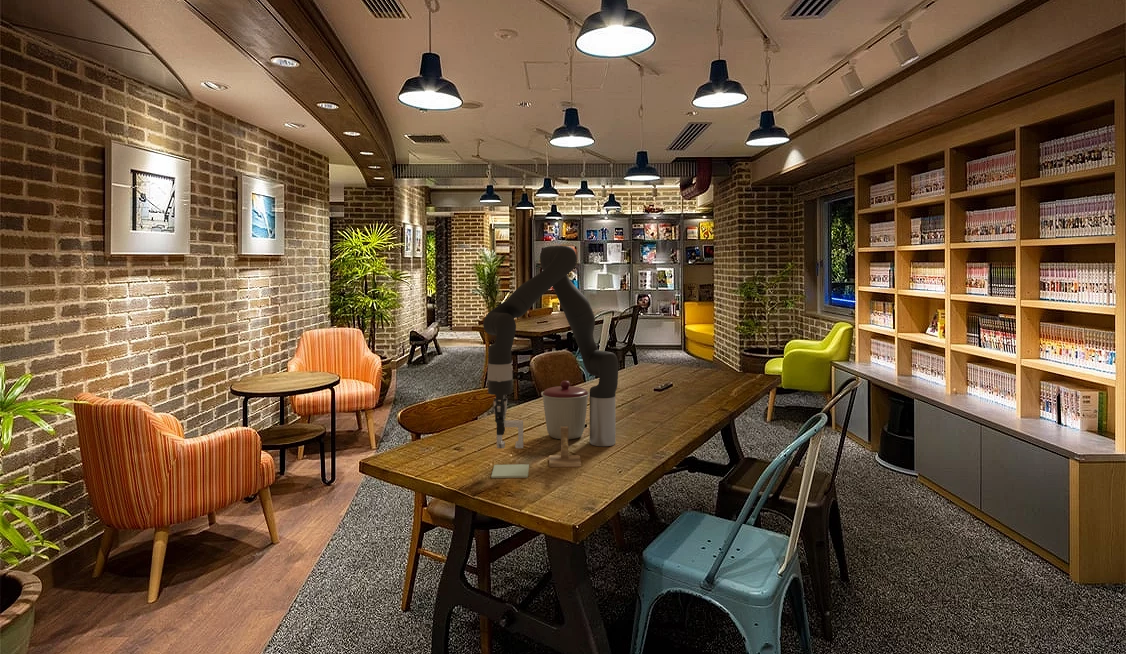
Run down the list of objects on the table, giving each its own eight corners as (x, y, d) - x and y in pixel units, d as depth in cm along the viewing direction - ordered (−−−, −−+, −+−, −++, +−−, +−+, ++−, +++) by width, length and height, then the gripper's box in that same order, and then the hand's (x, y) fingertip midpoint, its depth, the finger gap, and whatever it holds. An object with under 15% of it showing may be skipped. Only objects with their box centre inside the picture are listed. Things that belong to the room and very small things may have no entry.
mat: (494, 466, 203) (494, 464, 203) (529, 466, 203) (529, 464, 203) (491, 478, 192) (491, 476, 192) (527, 477, 192) (527, 475, 192)
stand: (549, 458, 212) (549, 425, 210) (579, 457, 212) (579, 425, 211) (549, 477, 193) (549, 441, 192) (582, 476, 193) (582, 441, 192)
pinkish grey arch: (497, 445, 198) (497, 420, 198) (523, 445, 199) (523, 420, 198) (496, 448, 196) (496, 422, 195) (522, 448, 196) (522, 422, 195)
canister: (590, 443, 229) (590, 385, 227) (540, 443, 230) (539, 385, 228) (589, 430, 247) (589, 376, 245) (542, 430, 248) (542, 376, 246)
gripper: (489, 374, 202) (490, 427, 204) (485, 382, 188) (486, 439, 190) (513, 373, 202) (514, 427, 204) (511, 381, 188) (511, 439, 190)
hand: (500, 432), depth 197 cm, fingers closed on pinkish grey arch, 3 cm apart
